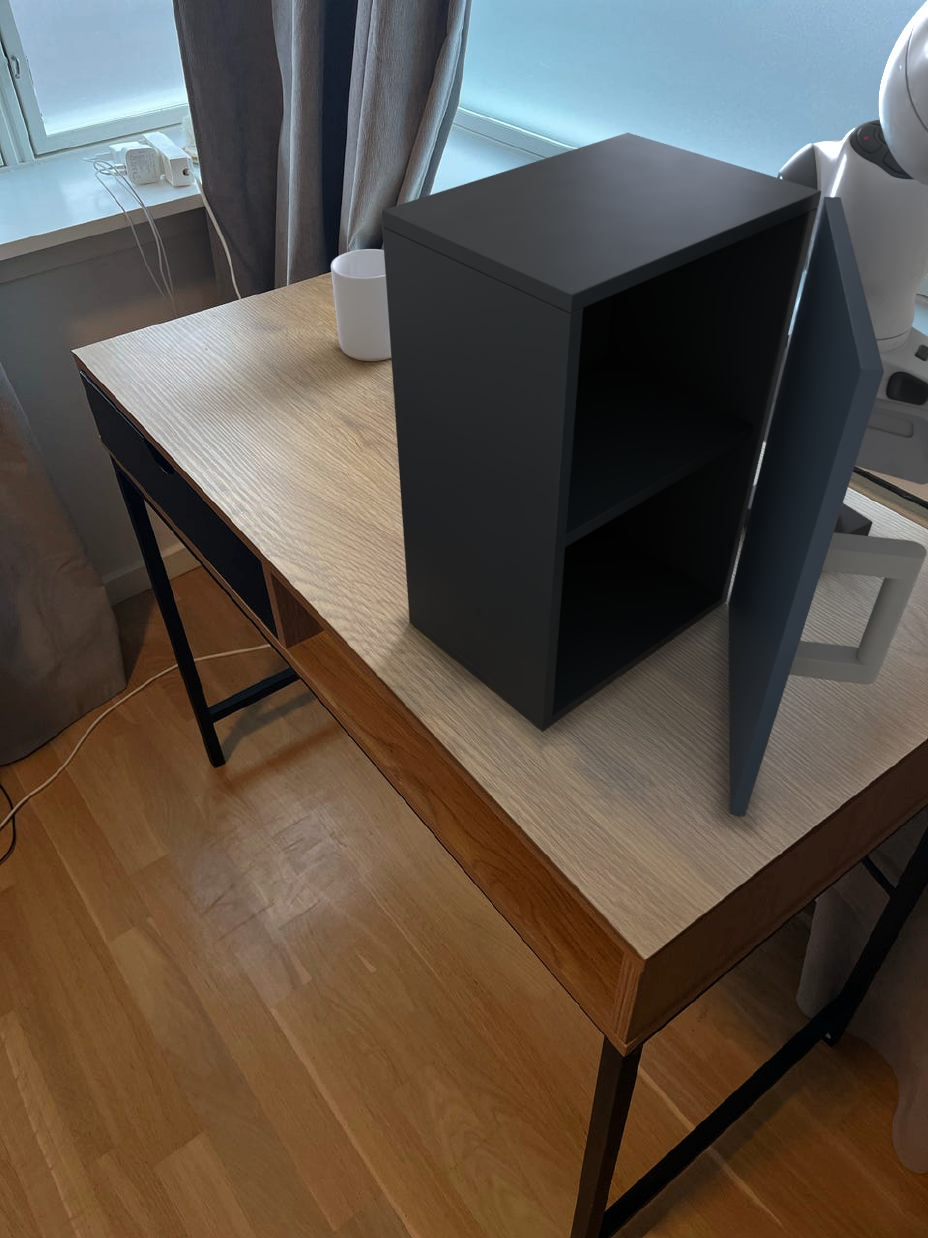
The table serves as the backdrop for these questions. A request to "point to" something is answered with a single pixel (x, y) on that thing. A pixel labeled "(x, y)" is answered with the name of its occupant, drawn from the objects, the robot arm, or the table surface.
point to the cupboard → (584, 403)
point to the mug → (362, 304)
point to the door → (810, 510)
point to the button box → (839, 520)
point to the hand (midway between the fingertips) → (804, 489)
